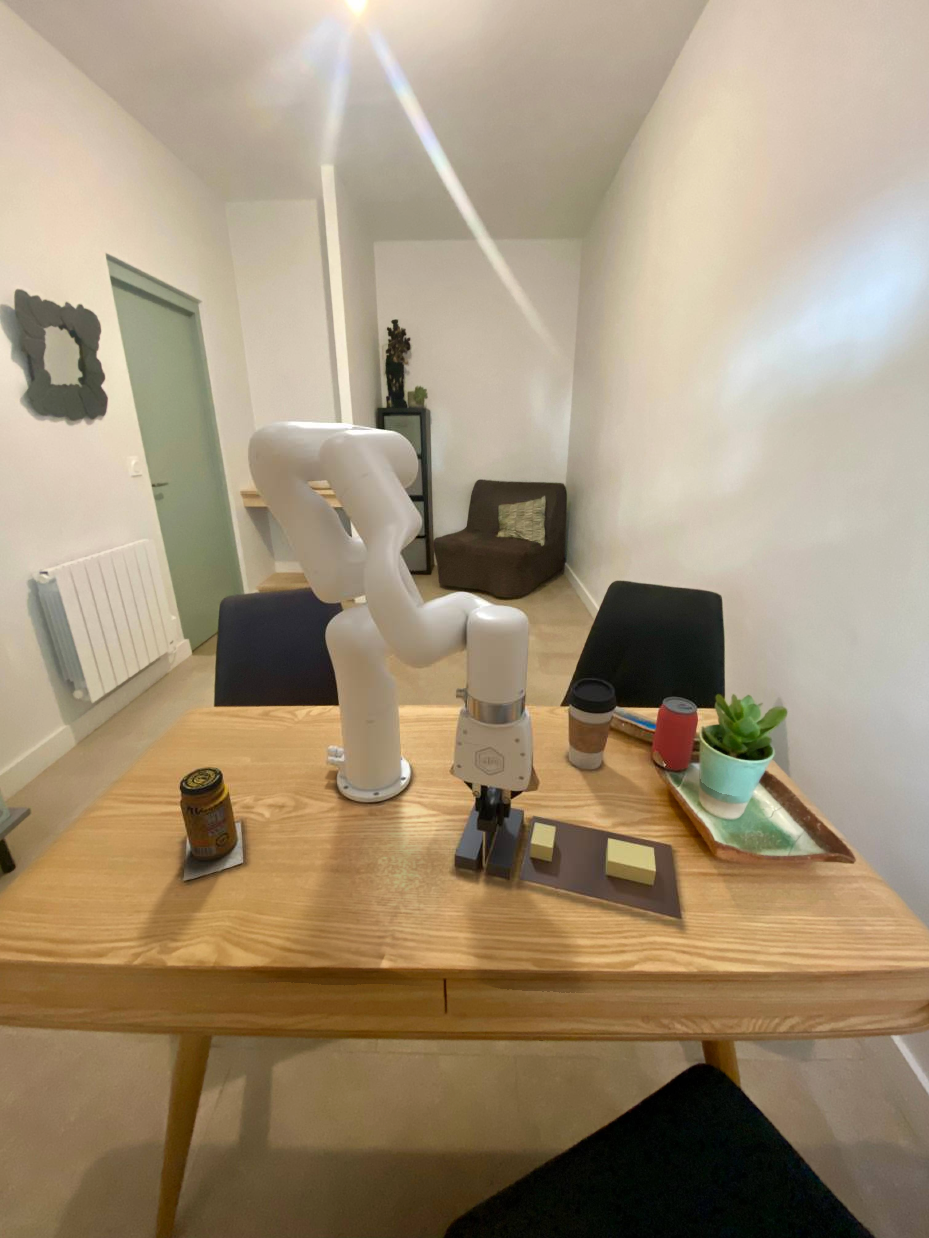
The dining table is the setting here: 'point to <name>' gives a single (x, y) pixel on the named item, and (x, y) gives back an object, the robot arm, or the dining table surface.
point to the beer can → (675, 732)
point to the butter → (630, 861)
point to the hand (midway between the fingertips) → (492, 816)
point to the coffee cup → (589, 721)
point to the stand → (502, 846)
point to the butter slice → (542, 842)
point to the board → (601, 869)
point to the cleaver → (488, 819)
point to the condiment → (209, 824)
